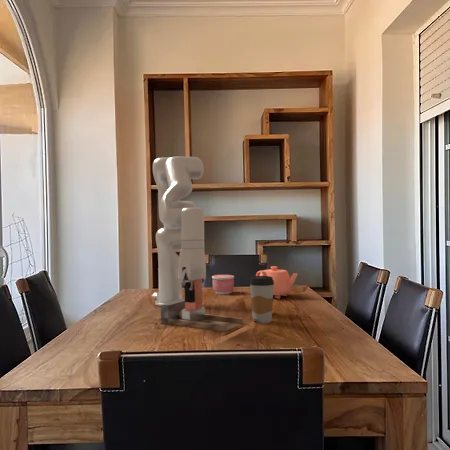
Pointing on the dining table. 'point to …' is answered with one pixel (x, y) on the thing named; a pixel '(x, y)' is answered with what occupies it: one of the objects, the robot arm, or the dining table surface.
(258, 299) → the coffee cup
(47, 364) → the dining table surface
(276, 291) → the teapot
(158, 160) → the robot arm
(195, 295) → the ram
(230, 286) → the container
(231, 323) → the grey tray
